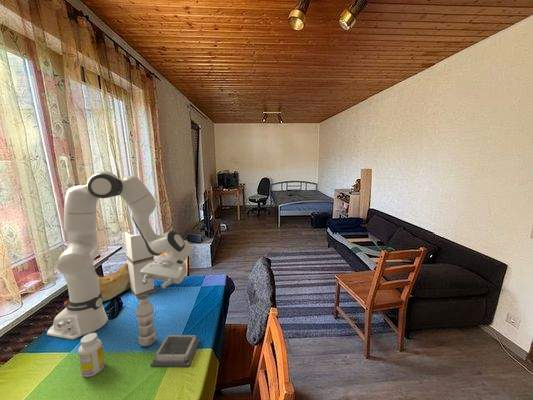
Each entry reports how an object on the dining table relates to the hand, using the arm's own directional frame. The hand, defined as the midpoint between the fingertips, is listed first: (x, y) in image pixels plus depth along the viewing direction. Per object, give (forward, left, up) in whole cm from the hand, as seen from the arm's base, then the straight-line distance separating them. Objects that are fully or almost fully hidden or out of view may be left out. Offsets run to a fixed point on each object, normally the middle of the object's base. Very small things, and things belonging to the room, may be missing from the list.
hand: (152, 285), depth 105 cm
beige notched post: (-23, +31, -20) cm, 43 cm away
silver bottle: (+1, -10, -20) cm, 23 cm away
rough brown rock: (-40, +29, -20) cm, 53 cm away
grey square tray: (+15, -15, -20) cm, 29 cm away
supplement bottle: (-12, -23, -20) cm, 33 cm away
